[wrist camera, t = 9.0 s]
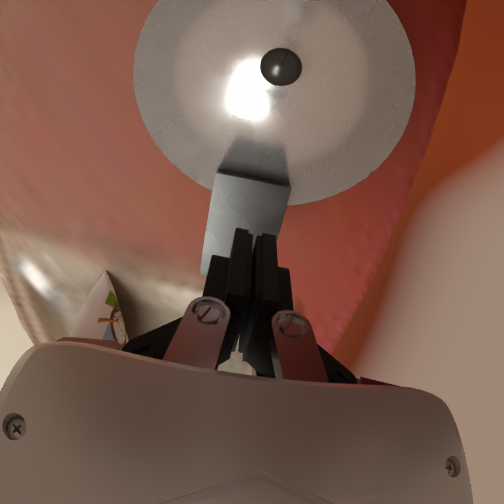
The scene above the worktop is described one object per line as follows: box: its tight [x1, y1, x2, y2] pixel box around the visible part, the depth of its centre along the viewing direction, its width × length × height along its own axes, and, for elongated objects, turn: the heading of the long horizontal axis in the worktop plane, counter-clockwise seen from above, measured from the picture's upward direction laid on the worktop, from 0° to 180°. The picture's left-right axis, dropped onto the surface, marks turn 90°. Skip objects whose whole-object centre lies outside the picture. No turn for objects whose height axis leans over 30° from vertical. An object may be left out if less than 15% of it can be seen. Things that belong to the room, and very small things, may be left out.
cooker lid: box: [133, 0, 416, 275], centre depth 17 cm, size 26×19×3 cm
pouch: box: [67, 271, 129, 344], centre depth 39 cm, size 8×19×20 cm, turn 170°
